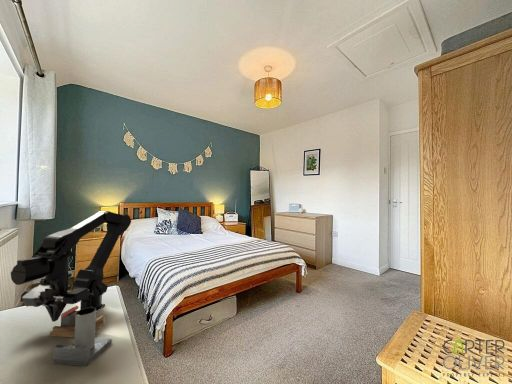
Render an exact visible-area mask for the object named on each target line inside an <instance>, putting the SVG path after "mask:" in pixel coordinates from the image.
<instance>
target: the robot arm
mask: <svg viewBox="0 0 512 384" xmlns="http://www.w3.org/2000/svg"><path fill="white" fill-rule="evenodd" d="M131 223H132V218H131V216H130V215H129V214H123V213H122V214H120V213H116V212H112V211H110V210H99V211H97V212H96V213H95V214H93V215H91V216H89V217H88V218H86V219H84V220H83V221H81V222H79V223H77V224H75V225H74V226H72V227H70V228H66V229H63V230H59V231H57V232H54V233H52V234H49V235H47V236H45V237H44V238H43V241H42V244H41V245H39V246H38V248H37V250H36V251H34V253H33V255H32V256H31V257H30V258H26V259H18V260H17V261H16V262H17V263H16V265H15V266H13V267H12V268H11V269H12V270H11V271H10V279H11V281H12V282H13V283H14V284H15V285H18V286H19V285H23V284H27V283H29V282H30V283H31V282H33V281H36V280H40V281H39V285H37V286H35V287H32V288H30V289H28V290H25V291H23V293H22V294H21V295H20V302H22V303H24V305H25V307H34V308H38V307H40V306H42V307H44V308H45V309H46V311H47V312H48V313H47V314H48V315H49V317H50V319H51V322H53V323H54V322H55V323H56V321H58V320H59V318H61V314H62V313H63V312H64V309H65V308H66V306H67V305H75V304H77V303H80V307H79V308H80V309H79V310H81V309H83V308H87V307H95V308H96V311H97V312H98V311H100V310H101V309H103V308H104V307H106V304H104V303H102V299H103V298H102V297H103V295H104V294H105V293H107V291H108V287H109V286H108V285H107V284H106V283H104V282H103V279H104V268H105V265H106V264H107V262H108V260H109V258H110V255H112V252H113V250H114V248H115V245H116V243H117V241H118V240H119V237H120V236H121V235H122V234H123V233H125V232H126V231H127V230H128V228H129V227H130V225H131ZM103 224H106V225H105V227H106V233H105V234H104V237H103V239H102V240H101V242H100V244H99V247H98V248H97V250H96V252H95V254H94V256H93V257H92V259H91V261H90V263H89V264H88V266H87V267H86V268H84V269H82V268H81V269H79V270H78V272H77V274H76V276H75V277H74V279H73V284H72V285H69V278H71V277H72V273H71V272H69V263H70V258H72V257H76V255H77V254H76V253H74V252H73V251H72V249H73V248H74V247H75V246H77V244H78V243H79V241H80V240H81V239H82V238H83V237H84V236H86V235H88V234H89V233H90V232H92V231H93V230H96V229H97V228H98V227H100V226H102V225H103ZM72 287H73V290H71V289H72ZM99 309H100V310H99Z"/></svg>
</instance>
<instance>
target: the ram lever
mask: <svg viewBox="0 0 512 384" xmlns="http://www.w3.org/2000/svg"><path fill="white" fill-rule="evenodd" d="M79 308H80V307H79V306H78V305H75V306H74V307H71V308H69V309H67V310H66V311H63V312H62V313H61V315H60V326H64V327H73V326H74V325H75V317H76V312H77V311H78V309H79Z"/></svg>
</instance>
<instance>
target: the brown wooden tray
mask: <svg viewBox="0 0 512 384" xmlns="http://www.w3.org/2000/svg"><path fill="white" fill-rule="evenodd" d="M104 325H105V315H103V314H101V315H100V316H98V317H97V318H96V324H95V332H97V331H98V330H99V329H100V328H102V327H103V326H104ZM49 337H63V338H64V337H65V338H75V325H74V326H73V327H64V326H61V325H60V326H59V325H54V326H53V327H52V330H51V331H50V332H49Z"/></svg>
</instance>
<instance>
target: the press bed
mask: <svg viewBox="0 0 512 384" xmlns="http://www.w3.org/2000/svg"><path fill="white" fill-rule="evenodd" d="M112 340H113V339H112V338H105V337H104V338H103V337H95V345H94V347H93V348H92V349H90V347H86V346H74V343H73V344H72V345H67V344H66V345H63V344H57V345H56V346H54V347H53V365H65V366H79V367H80V366H84V367H87V366H88V365H90V363H92V361H94V360H95V359H96V358H97V357H98V356H99V355H100V354H101V353H102V352H103V351H105V349H106V348H108V347H109V346H110V345H111V343H112Z"/></svg>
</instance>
